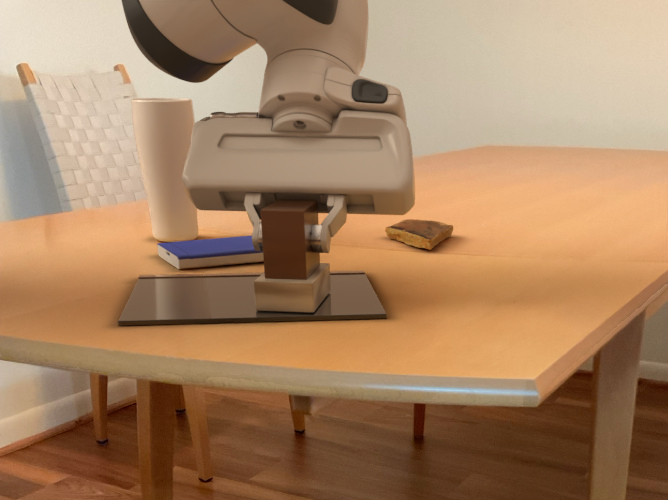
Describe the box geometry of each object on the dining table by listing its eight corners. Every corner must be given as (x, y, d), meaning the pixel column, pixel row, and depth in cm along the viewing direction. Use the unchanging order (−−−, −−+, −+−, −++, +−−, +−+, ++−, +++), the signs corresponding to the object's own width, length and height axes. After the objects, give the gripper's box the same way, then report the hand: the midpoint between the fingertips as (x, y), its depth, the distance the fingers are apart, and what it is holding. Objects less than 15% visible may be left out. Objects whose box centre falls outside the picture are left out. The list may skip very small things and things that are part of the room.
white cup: (136, 238, 109) (119, 98, 102) (186, 232, 113) (173, 97, 106) (164, 246, 104) (149, 101, 97) (216, 240, 108) (204, 99, 101)
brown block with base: (313, 312, 77) (309, 213, 73) (255, 311, 77) (248, 211, 73) (330, 291, 84) (327, 198, 80) (277, 289, 84) (271, 197, 80)
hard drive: (265, 233, 104) (156, 241, 99) (292, 244, 98) (178, 254, 92) (265, 247, 105) (158, 256, 99) (292, 260, 98) (179, 270, 93)
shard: (430, 252, 103) (430, 236, 102) (366, 248, 105) (366, 231, 104) (455, 237, 112) (456, 221, 111) (396, 232, 114) (396, 217, 113)
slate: (118, 325, 74) (117, 319, 74) (139, 280, 89) (139, 275, 89) (386, 318, 77) (386, 312, 77) (364, 275, 92) (364, 270, 92)
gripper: (185, 86, 80) (160, 222, 76) (418, 89, 78) (405, 228, 74) (205, 137, 86) (183, 266, 82) (422, 141, 84) (410, 273, 80)
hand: (290, 248), depth 78 cm, fingers closed on brown block with base, 3 cm apart
